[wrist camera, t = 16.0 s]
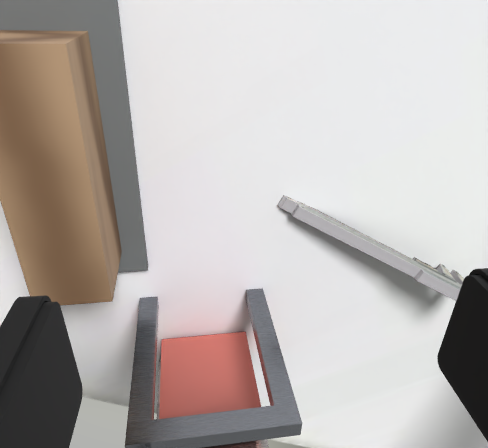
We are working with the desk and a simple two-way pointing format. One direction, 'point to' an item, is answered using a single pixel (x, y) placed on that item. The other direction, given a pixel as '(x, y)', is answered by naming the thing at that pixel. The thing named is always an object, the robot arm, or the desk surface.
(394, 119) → the desk surface
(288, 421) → the frame
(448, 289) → the caliper
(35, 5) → the rest mat
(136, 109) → the desk surface
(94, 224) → the brown wooden block
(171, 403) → the button
